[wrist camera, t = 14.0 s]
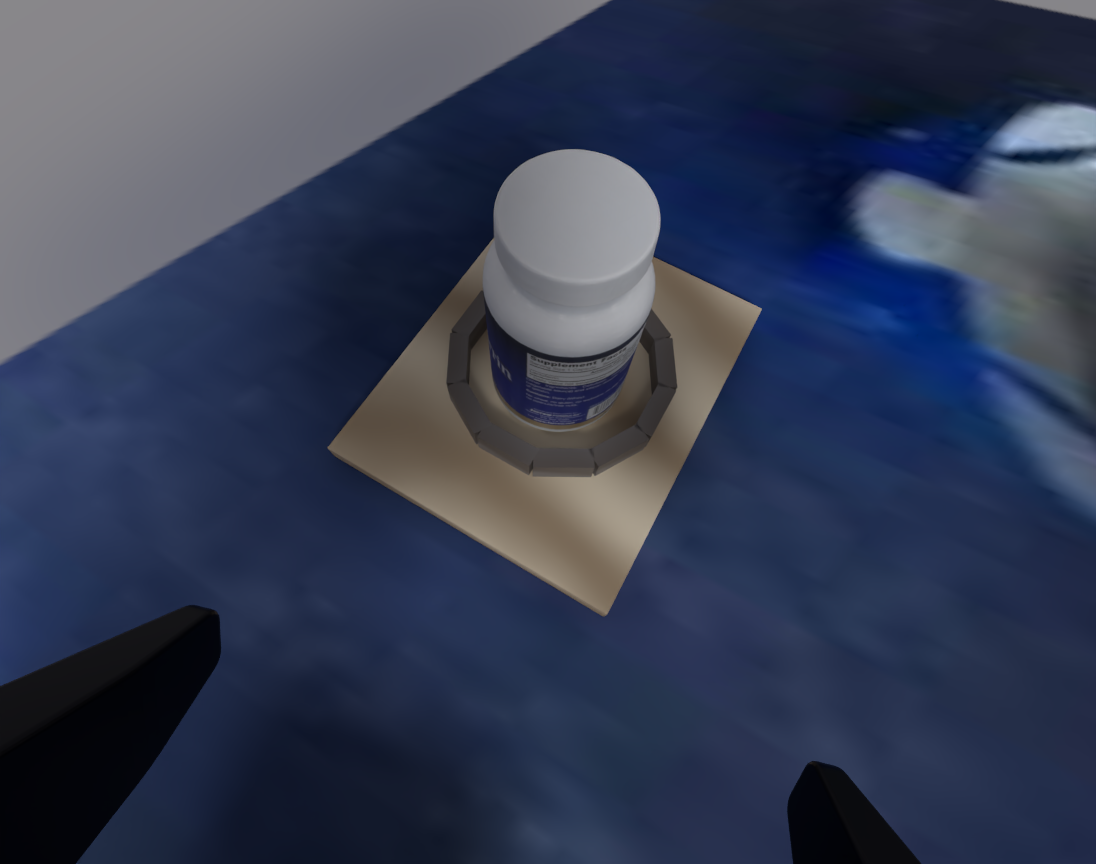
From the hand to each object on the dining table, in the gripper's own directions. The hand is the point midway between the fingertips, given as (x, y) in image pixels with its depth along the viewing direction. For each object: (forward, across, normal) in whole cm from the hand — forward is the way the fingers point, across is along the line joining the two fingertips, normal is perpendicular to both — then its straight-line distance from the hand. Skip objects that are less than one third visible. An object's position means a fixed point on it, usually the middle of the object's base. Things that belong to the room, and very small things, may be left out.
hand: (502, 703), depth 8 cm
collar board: (+18, +1, +1) cm, 18 cm away
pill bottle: (+18, +1, 0) cm, 18 cm away
